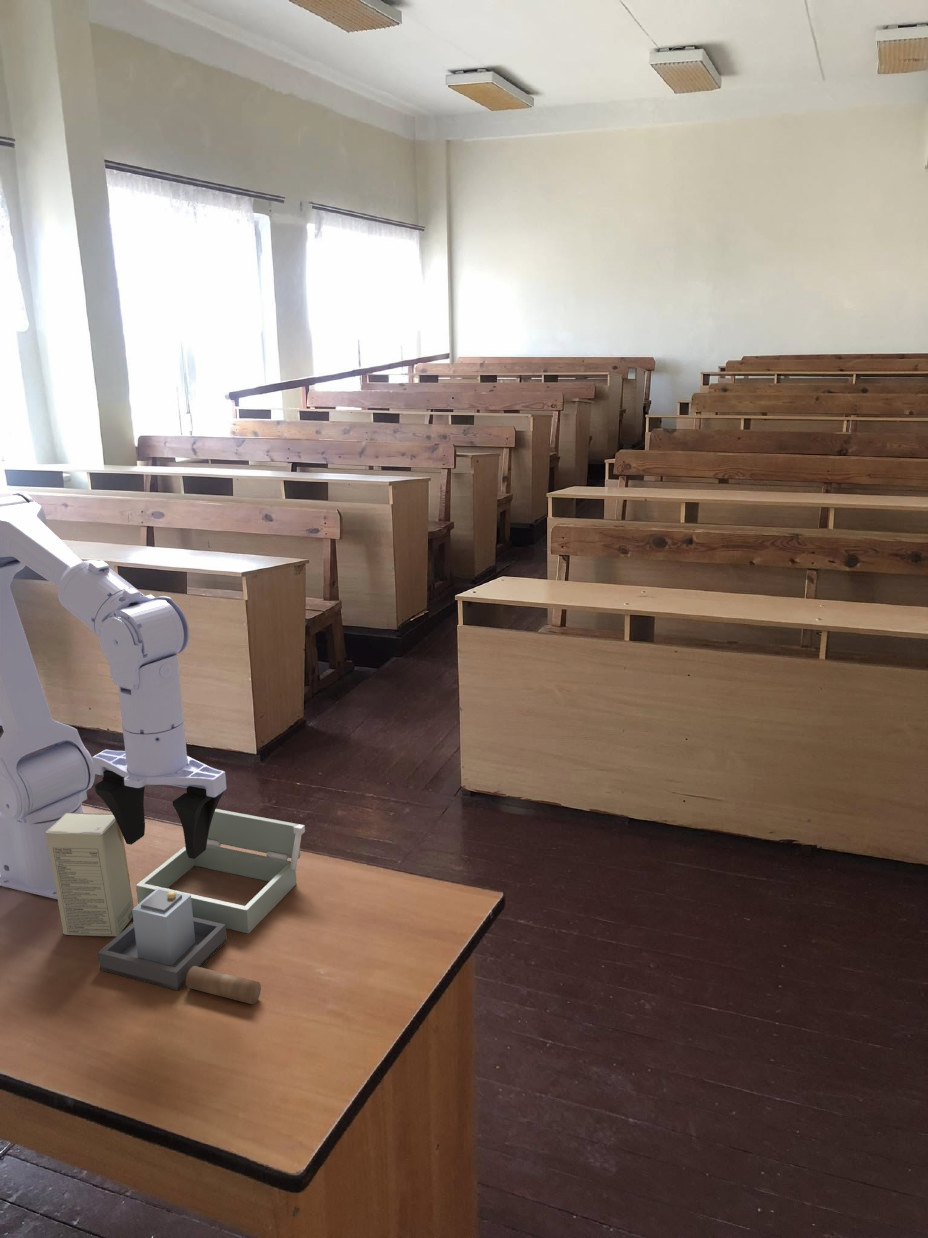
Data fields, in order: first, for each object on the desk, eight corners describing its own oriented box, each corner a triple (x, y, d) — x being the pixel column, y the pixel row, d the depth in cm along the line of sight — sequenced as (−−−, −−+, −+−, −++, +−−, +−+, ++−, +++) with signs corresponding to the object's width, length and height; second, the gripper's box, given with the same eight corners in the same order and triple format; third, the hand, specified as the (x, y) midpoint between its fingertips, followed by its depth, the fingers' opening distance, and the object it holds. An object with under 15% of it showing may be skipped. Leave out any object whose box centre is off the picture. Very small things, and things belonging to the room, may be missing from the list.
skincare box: (136, 914, 101) (124, 813, 98) (118, 938, 97) (105, 833, 94) (79, 911, 102) (65, 810, 99) (59, 935, 98) (43, 831, 95)
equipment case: (138, 907, 103) (131, 851, 101) (199, 857, 113) (194, 804, 111) (255, 935, 98) (250, 876, 96) (307, 879, 108) (304, 825, 106)
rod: (186, 992, 89) (184, 974, 89) (199, 979, 91) (197, 961, 90) (250, 1009, 87) (248, 991, 86) (261, 995, 89) (260, 977, 88)
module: (137, 957, 94) (131, 903, 92) (162, 934, 97) (157, 882, 96) (171, 965, 92) (165, 911, 91) (195, 942, 96) (190, 889, 94)
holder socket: (100, 970, 92) (97, 952, 92) (153, 923, 100) (151, 907, 99) (178, 990, 89) (176, 973, 89) (226, 941, 97) (225, 924, 96)
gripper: (64, 727, 90) (80, 852, 94) (190, 749, 85) (202, 880, 89) (114, 702, 96) (128, 820, 100) (234, 721, 92) (243, 845, 95)
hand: (165, 846), depth 95 cm, fingers open, 7 cm apart
